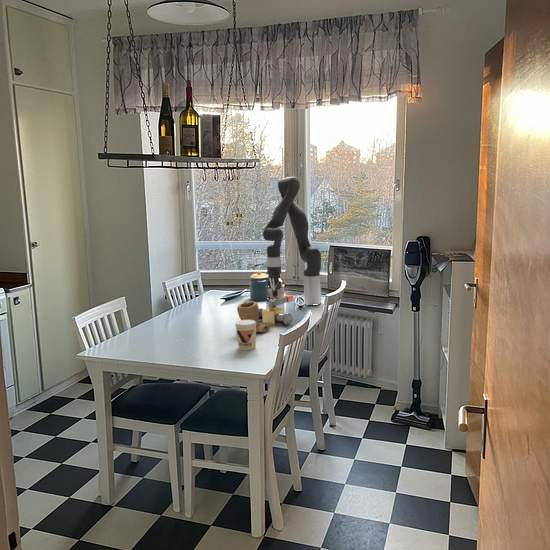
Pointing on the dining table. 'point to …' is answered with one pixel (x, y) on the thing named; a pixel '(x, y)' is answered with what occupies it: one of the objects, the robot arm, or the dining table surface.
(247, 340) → the coffee cup
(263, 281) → the canister
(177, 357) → the dining table surface
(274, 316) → the valve pipe
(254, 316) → the stone cup
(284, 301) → the lever
